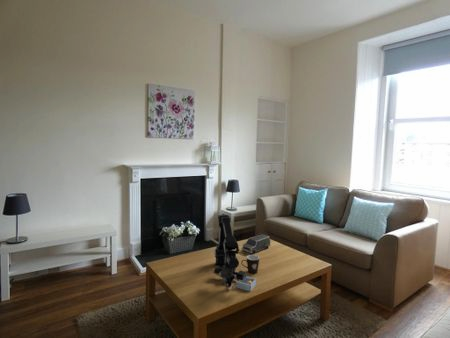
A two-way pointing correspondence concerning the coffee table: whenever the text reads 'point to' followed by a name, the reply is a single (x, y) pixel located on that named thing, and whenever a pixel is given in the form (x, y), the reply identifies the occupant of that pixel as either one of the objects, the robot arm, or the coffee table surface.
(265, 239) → the toy van
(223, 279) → the pivot stand
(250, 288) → the dish
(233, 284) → the lever
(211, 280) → the coffee table surface
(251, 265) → the coffee mug
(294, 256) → the coffee table surface
